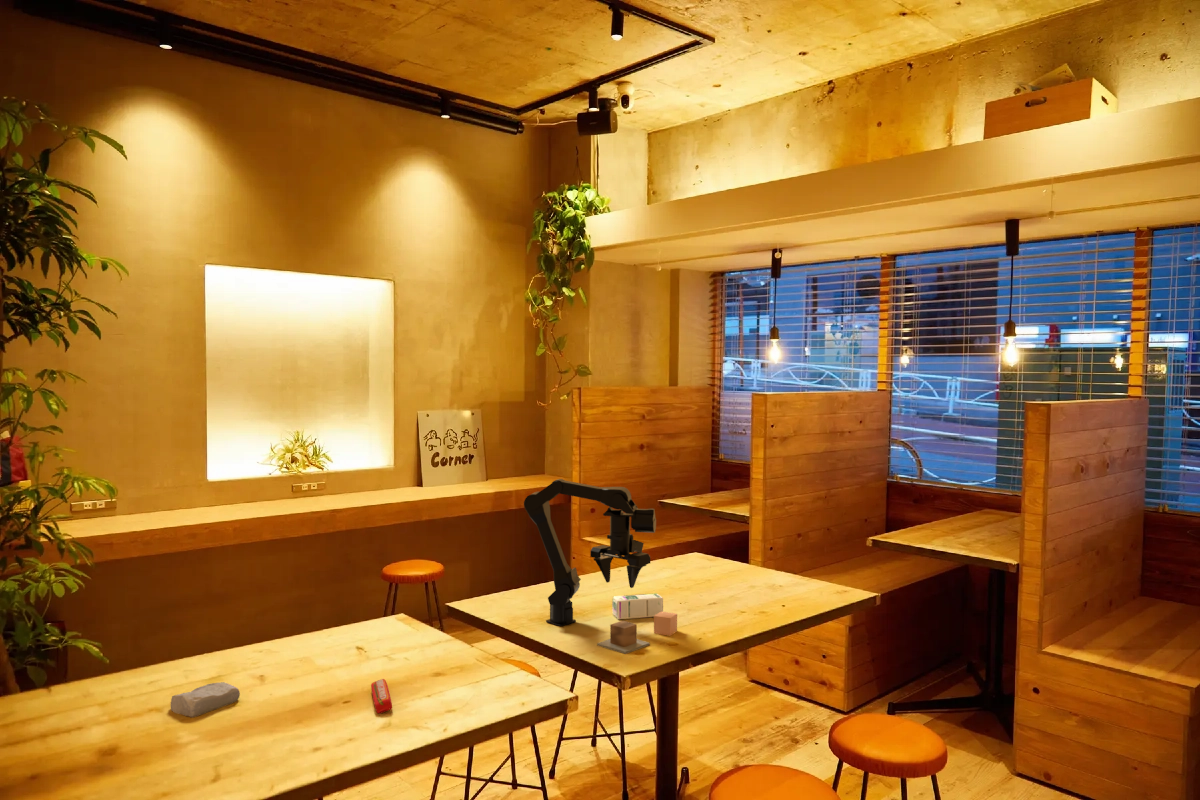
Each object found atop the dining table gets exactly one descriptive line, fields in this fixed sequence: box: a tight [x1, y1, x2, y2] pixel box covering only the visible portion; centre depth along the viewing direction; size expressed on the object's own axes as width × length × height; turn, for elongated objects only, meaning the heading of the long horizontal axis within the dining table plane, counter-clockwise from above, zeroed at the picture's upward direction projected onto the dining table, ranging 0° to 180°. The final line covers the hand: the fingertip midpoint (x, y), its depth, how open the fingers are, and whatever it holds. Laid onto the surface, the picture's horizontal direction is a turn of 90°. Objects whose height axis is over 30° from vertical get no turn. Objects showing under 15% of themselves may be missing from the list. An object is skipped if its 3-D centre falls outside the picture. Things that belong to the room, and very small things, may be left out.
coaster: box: [596, 638, 650, 655], centre depth 220 cm, size 10×10×1 cm
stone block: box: [170, 681, 241, 718], centre depth 179 cm, size 12×5×10 cm
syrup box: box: [611, 592, 664, 620], centre depth 247 cm, size 6×6×14 cm
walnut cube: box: [609, 620, 638, 647], centre depth 220 cm, size 5×5×5 cm
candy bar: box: [370, 678, 393, 714], centre depth 181 cm, size 16×4×3 cm, turn 20°
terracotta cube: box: [653, 611, 678, 636], centre depth 231 cm, size 5×5×5 cm
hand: (619, 585), depth 236 cm, fingers open, 9 cm apart
